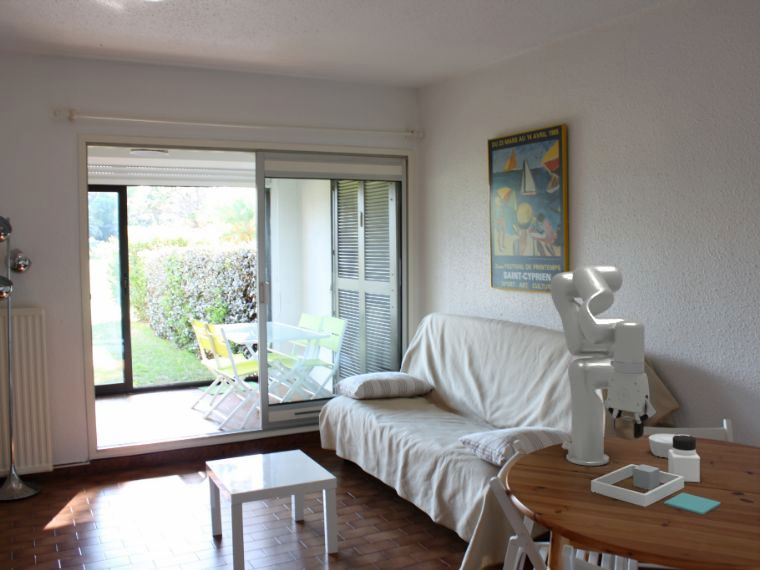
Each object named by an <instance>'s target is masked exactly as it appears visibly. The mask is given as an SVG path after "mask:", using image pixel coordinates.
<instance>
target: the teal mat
mask: <svg viewBox="0 0 760 570" xmlns="http://www.w3.org/2000/svg"><path fill="white" fill-rule="evenodd" d="M663 504H664V505H666V506H669V507H673V508H677V509H679V510H685V511H688V512H691V513H695V514H699V515H703V516H704V515H705V514H706V513H708V512H710V511H712V510H713V509H715V508H717V507H719V506H721V505H722V504H721V502H720V501H717V500H712V499H709V498H705V497H702V496H697V495H693V494H689V493H686V492H681V493H679V494H677V495H675V496H674V497H671V498H670V499H667V500H665V501H663Z"/></svg>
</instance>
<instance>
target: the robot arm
mask: <svg viewBox="0 0 760 570" xmlns="http://www.w3.org/2000/svg"><path fill="white" fill-rule="evenodd" d="M622 285H623V274H622V272H621V269H619V267H617V266H616V265H614V264H611V263H609V264H608V263H602V264H583V265H581V266H578V267H577V268H575V269H574V271H564V272H559V273H557V274H555V275H554V276H553V277H552V278H551V280H550V295H551V300H552V302H553V305H554V307H555V309H556V311H557V313H558V314H559V317H560V319H561V320H560V321H561V324H562V328H563V334H564V339H565V343H566V347H567V350H568V352H569V354H570V355H571V356H574V357H582V358H576V359H574V360H572V361H571V362H570V363H569V366H568V369H567V373H568V374H567V376H568V381H569V382H568V383H569V386H570V396H571V397H570V398H571V399H570V400H571V403H570V404H571V408H570V409H571V442H570V441H566V440H564V441H563V442H562V445H561V448H562V449H564V450H567V451H568V452H567V454H566V460H567V461H568V462H569V463H572V464H574V465H575V464H576V465H581V466H587V467H588V466H589V467H592V466H593V467H594V466H596V467H597V466H603V465H606V464H608V463H609V462H610V457H609V455H608V454H605V453H604V449H605V448H604V447H605V446H604V445H605V443H604V436H605V435H604V430H605V429H604V424H605V422H604V420H605V419H604V413H605V412H604V407H605V408H606V409H607V411H608V412H609V413H610V415H611V418H612V419H613V429H614V430H615V418H618V417H621V416H623V412H626V413H627V412H629V413H633V414H634V417H635V418H636V423H635V428H634V437H635V438H639V437H641V438H643V436H644V433H645V431H644V430H645V429H644V428H645V423H646V422H647V421H648V419H650V418H651V417H653V416H654V415H656V413H657V411H656V409H655V408H654V406H653V404H652V403H651V399H650V398H651V397H650V386H649V385H650V384H649V381H648V375H647V373H646V372H645V346H646V345H645V340H646V338H645V335H646V334H645V333H646V332H645V331H646V330H645V328H646V327H645V324H644V323H643V322H641V321H638V320H636V319H634V318H633V317H630V316H600V317H597V316H598V315H600V314H602V313H604V312H606V311H607V310H609V309H610V308H611V307H612V306H613V304H614V301H615V295H614V293H616V292H619V290H620V289H621V288H622ZM575 298H576V299H580V298H581V300H582V302H583V303H582V304H581V303H579V302H578V300H575ZM606 389H607V396H606V397H607V398H606V399H605V400H604V401H603V400H602V398H601V397H600V396H599V394H597V392H596V390H606ZM645 411H647V412H645ZM639 439H640V438H639Z"/></svg>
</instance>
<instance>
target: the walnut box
mask: <svg viewBox="0 0 760 570" xmlns="http://www.w3.org/2000/svg"><path fill="white" fill-rule="evenodd" d="M635 423H636V418H635V416H630V415H626V414H624V415H621V417H618V418H615V429H614V438H618V439H622V440H627V441H631V442H633V441H636V440H639V439H641V438H642V437H639V438H635V437H634V428H635Z"/></svg>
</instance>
